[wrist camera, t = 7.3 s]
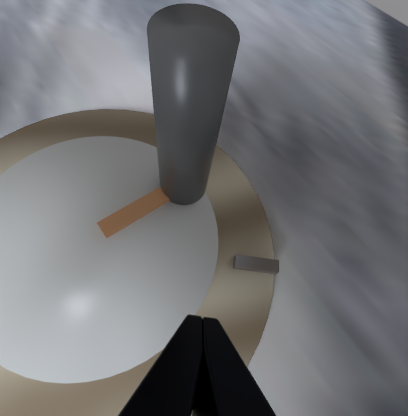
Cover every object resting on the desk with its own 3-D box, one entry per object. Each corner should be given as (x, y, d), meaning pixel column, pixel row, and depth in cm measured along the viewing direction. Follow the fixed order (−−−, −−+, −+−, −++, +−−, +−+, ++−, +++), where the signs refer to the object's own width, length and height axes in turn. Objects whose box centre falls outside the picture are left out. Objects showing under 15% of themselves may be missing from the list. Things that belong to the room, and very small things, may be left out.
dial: (267, 265, 14) (398, 170, 6) (31, 453, 10) (-564, 955, 2) (145, 115, 17) (121, -79, 9) (-69, 214, 13) (-446, 25, 5)
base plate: (332, 350, 14) (354, 352, 12) (-99, 585, 9) (-156, 638, 8) (197, 94, 20) (200, 73, 18) (-96, 159, 16) (-128, 139, 14)
